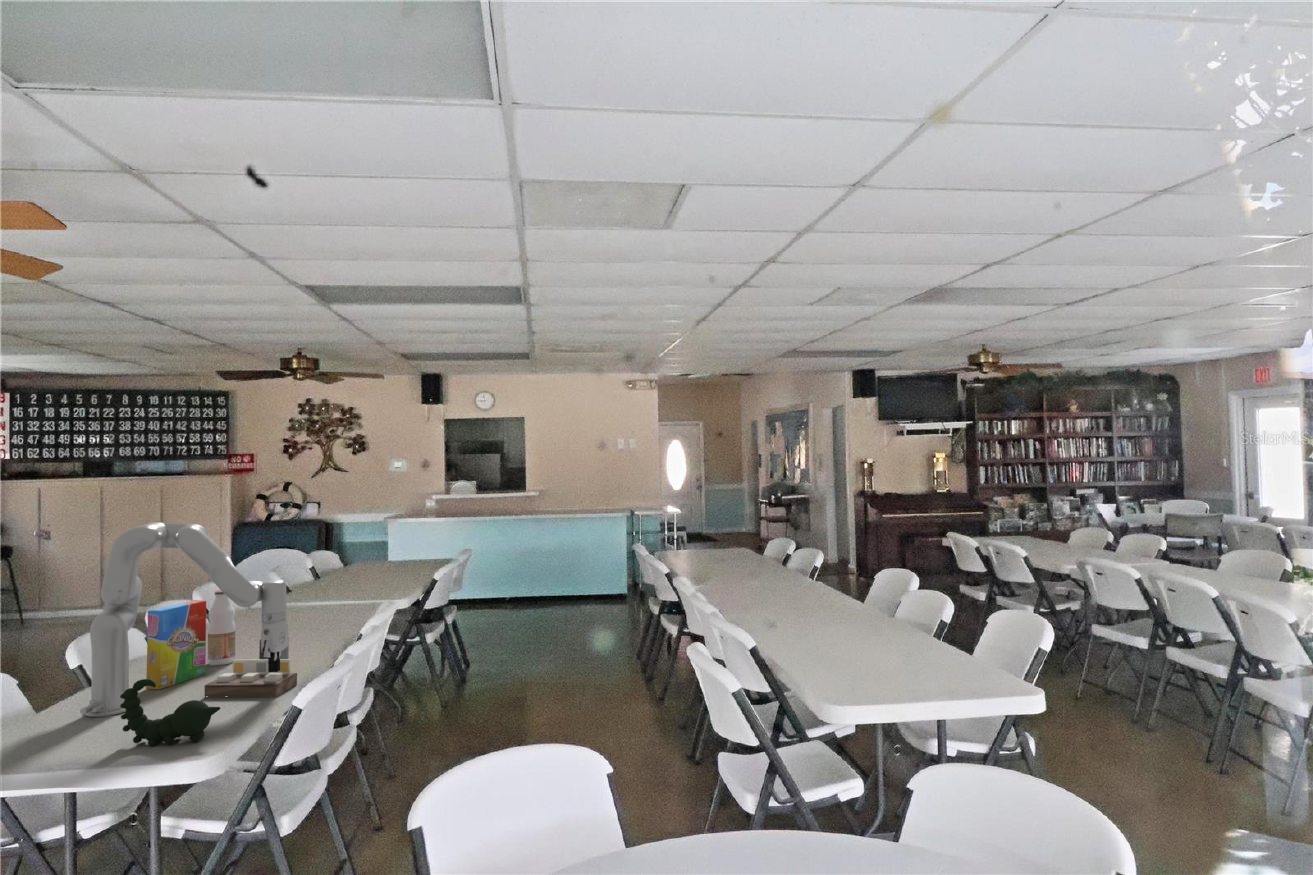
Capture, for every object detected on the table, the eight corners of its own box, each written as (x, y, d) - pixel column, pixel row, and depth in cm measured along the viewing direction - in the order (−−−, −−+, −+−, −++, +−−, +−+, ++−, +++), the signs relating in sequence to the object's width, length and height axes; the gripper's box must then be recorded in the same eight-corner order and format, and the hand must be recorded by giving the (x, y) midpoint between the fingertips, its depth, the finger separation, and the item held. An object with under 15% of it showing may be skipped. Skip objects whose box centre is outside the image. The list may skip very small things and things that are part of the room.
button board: (275, 697, 248) (275, 684, 249) (204, 697, 249) (204, 685, 249) (297, 684, 262) (297, 673, 263) (229, 685, 263) (229, 673, 263)
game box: (158, 690, 258) (159, 610, 259) (145, 689, 259) (146, 610, 260) (206, 673, 278) (206, 599, 279) (193, 673, 279) (194, 599, 280)
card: (289, 674, 261) (289, 659, 261) (232, 674, 261) (232, 660, 262) (290, 673, 262) (290, 659, 262) (233, 674, 262) (233, 659, 262)
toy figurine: (117, 757, 203) (215, 743, 205) (111, 687, 203) (208, 674, 206) (137, 744, 212) (230, 731, 215) (131, 677, 212) (224, 665, 215)
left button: (229, 683, 253) (229, 676, 253) (217, 683, 253) (217, 676, 253) (236, 680, 257) (236, 673, 257) (224, 680, 257) (224, 673, 257)
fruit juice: (209, 667, 287) (210, 593, 288) (205, 662, 294) (206, 590, 295) (237, 663, 293) (238, 590, 294) (232, 658, 300) (233, 588, 301)
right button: (276, 683, 253) (276, 676, 253) (264, 683, 253) (264, 676, 253) (282, 679, 257) (282, 672, 257) (270, 679, 257) (271, 672, 257)
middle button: (252, 683, 253) (252, 676, 253) (241, 683, 253) (241, 676, 253) (259, 679, 257) (259, 672, 257) (247, 680, 257) (247, 672, 257)
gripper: (273, 621, 248) (273, 677, 247) (295, 612, 263) (296, 665, 262) (250, 622, 248) (250, 678, 247) (274, 612, 263) (274, 665, 262)
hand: (274, 671), depth 255 cm, fingers closed
